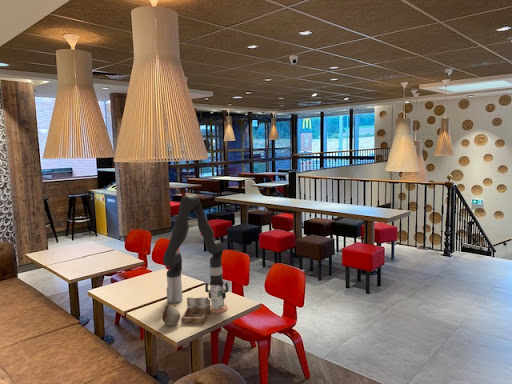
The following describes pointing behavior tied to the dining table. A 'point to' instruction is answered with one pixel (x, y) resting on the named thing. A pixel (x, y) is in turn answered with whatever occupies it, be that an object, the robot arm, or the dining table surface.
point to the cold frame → (196, 310)
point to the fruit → (170, 315)
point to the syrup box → (216, 297)
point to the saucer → (219, 309)
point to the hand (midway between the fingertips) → (217, 298)
